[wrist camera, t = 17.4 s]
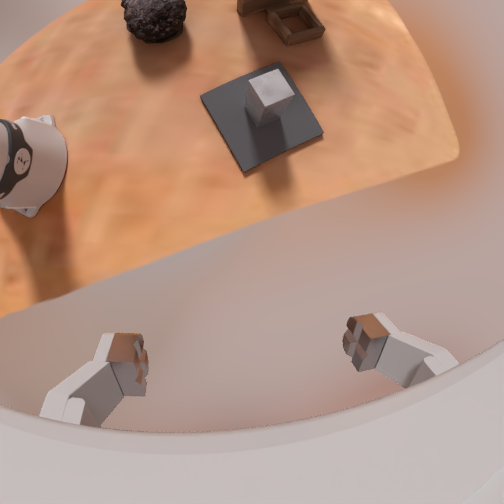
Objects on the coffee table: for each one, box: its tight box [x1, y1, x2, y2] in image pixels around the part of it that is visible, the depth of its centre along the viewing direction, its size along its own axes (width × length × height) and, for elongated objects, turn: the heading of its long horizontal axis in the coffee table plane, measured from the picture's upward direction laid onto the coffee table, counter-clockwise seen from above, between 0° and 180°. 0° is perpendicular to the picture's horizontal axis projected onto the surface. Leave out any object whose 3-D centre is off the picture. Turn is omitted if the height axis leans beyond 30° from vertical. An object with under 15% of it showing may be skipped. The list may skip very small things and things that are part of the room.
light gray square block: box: [244, 69, 295, 128], centre depth 33 cm, size 4×4×10 cm
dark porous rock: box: [121, 0, 187, 43], centre depth 29 cm, size 10×18×10 cm, turn 31°
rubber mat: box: [200, 62, 324, 172], centre depth 38 cm, size 14×14×1 cm
